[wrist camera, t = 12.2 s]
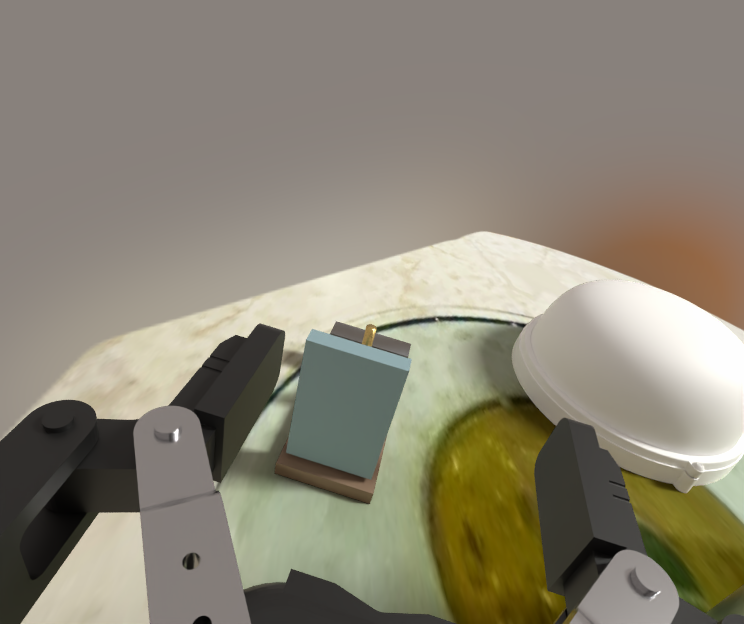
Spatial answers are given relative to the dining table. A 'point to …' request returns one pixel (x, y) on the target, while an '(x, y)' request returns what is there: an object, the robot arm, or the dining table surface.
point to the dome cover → (640, 378)
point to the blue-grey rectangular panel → (345, 403)
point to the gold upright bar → (369, 335)
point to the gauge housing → (328, 475)
